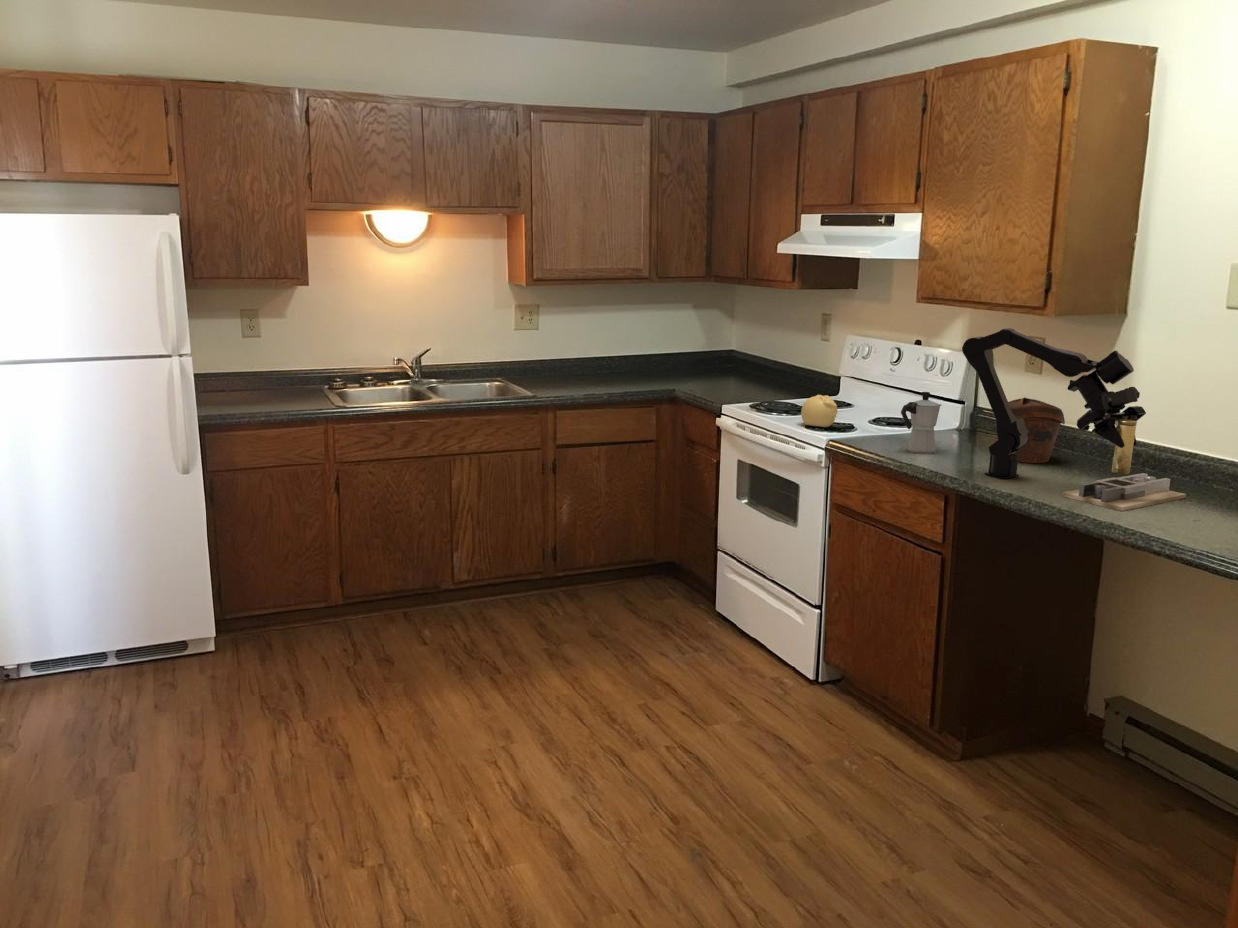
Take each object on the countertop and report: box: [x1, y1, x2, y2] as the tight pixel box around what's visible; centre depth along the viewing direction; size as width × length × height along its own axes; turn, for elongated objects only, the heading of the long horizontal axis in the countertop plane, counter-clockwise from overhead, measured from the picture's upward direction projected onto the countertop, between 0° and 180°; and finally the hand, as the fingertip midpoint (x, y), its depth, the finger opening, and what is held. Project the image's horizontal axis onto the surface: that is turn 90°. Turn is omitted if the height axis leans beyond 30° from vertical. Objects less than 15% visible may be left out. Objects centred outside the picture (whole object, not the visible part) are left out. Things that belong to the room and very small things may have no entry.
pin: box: [1111, 419, 1138, 475], centre depth 248 cm, size 4×4×13 cm
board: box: [1061, 488, 1187, 512], centre depth 252 cm, size 16×27×1 cm, turn 122°
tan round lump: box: [800, 394, 838, 428], centre depth 340 cm, size 12×12×11 cm
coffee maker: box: [900, 391, 942, 455], centre depth 301 cm, size 15×9×18 cm, turn 113°
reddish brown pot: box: [1008, 396, 1066, 464], centre depth 294 cm, size 18×20×18 cm
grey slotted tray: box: [1078, 472, 1171, 503], centre depth 252 cm, size 8×27×3 cm, turn 121°
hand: (1129, 446), depth 246 cm, fingers closed on pin, 4 cm apart
